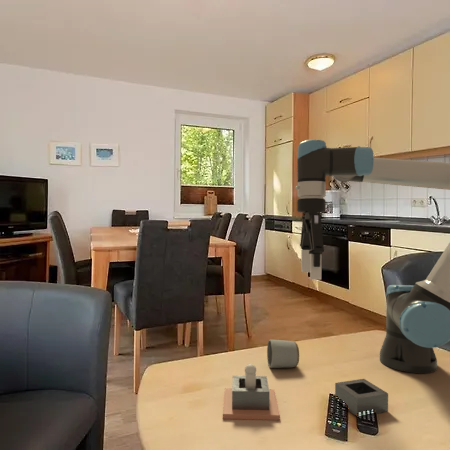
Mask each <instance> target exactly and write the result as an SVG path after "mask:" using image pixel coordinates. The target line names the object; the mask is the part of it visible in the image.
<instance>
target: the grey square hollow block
mask: <svg viewBox="0 0 450 450" xmlns="http://www.w3.org/2000/svg"><path fill="white" fill-rule="evenodd" d="M334 385H335V387H334V389H335V390H334V391H335V392H334V396H338V397H339V398H340V399H342V400H343V401H344V402H345V403H346V404H347V405H348V408H349V410H348V411H349V412H350V413H351V414H352V415H354V416H355V415H356V413H358V412H362V411H366V410H372V409H375V410H376V414H381V413H387V412H389V393H388V392H387V391H385V390H383V389H381V388H380V387H378V386H376V385H375V384H374V383H372V382H371V381H368V380H367V379H366V378H360V379H359V378H358V379H351V380H345V381H341V382H335V384H334ZM376 414H375V415H376Z"/></svg>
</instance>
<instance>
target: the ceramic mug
mask: <svg viewBox="0 0 450 450" xmlns="http://www.w3.org/2000/svg"><path fill="white" fill-rule="evenodd" d="M266 347H267V348H266V355H267V356H266V357H267V358H266V359H267V363H268V367H269V368H270V369H280V368H281V369H283V368H286V369H288V368H294V367H295V368H296V367H297V366H298V365H299V364H300V363H299V361H300V350H299V346H298V343H297V342H296V341H293V340H283V339H272V338H271V339H269V340H268V342H267V346H266Z"/></svg>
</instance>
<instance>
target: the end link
mask: <svg viewBox="0 0 450 450" xmlns="http://www.w3.org/2000/svg"><path fill="white" fill-rule="evenodd" d="M231 385H232V388H231V389H232V410H269V389H270V387H269V383H268V377H267V376H265V375H264V376H263V375H256V388H245V375H232V383H231Z"/></svg>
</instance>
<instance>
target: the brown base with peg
mask: <svg viewBox="0 0 450 450" xmlns="http://www.w3.org/2000/svg"><path fill="white" fill-rule="evenodd" d="M244 376H245V388H256V376H257V368H256V366H255V365H254V364H253V363H248V364H247V365H245V367H244ZM222 405H223V407H222V419H223V420H224V419H225V420H260V421H263V420H264V421H266V420H268V421H281V413H280V410H279V404H278V400H277V395H276V391H275V389H270V388H269V410H232V388H228V387H227V388H226V387H225V388H224V395H223V404H222Z"/></svg>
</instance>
